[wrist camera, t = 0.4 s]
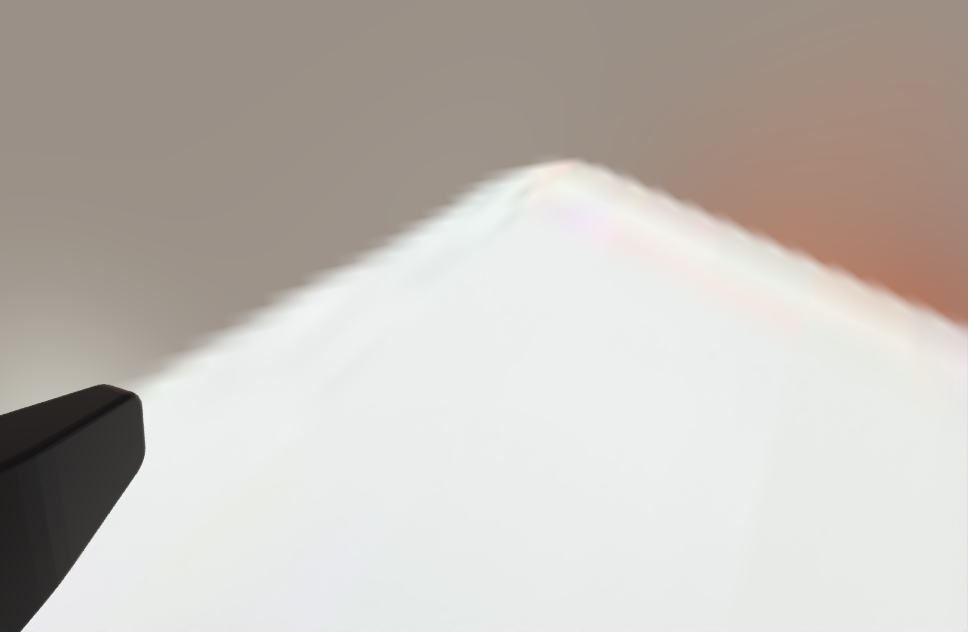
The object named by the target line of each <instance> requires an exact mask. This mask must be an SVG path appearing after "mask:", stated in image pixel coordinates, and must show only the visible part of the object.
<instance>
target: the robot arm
mask: <svg viewBox="0 0 968 632" xmlns="http://www.w3.org/2000/svg"><path fill="white" fill-rule="evenodd" d="M144 456H145V436H144V423H143V410H142V402H141V400H140V398H139V396H138V395H136V394H135V393H133V392H131V391H127V390H124V389H121V388H118V387H114V386H111V385H106V384H101V385H97V386H93V387H90V388H86V389H83V390H80V391H77V392H74V393H70V394H67V395H64V396H61V397H58V398H54V399H51V400H48V401H45V402H41V403H38V404H35V405H32V406H29V407H25V408H22V409H19V410H16V411H13V412H9V413H7V414H3V415H0V632H21V630H22V629H23V628H24V627H25V626H26V625H27V623H28V622H29V621H30V620H31V619H32V617H33V616H34V615H35V614H36V613H37V611H38V610H39V609H40V608H41V607H42V606H43V604H44V603H45V602H46V601H47V599H48V598H49V597H50V596H51V594H52V593H53V592H54V591H55V589H56V588H57V587H58V586H59V584H60V583H61V582H62V580H63V579H64V578H65V576H66V575H67V574H68V572H69V571H70V569H71V568H72V567H73V565H74V564H75V562H76V561H77V559H78V558H79V557H80V555H81V554H82V552H83V551H84V549H85V548H86V546H87V545H88V543H89V542H90V541H91V539H92V538H93V536H94V535H95V533H96V532H97V530H98V529H99V528H100V526H101V525H102V523H103V522H104V520H105V519H106V517H107V516H108V514H109V513H110V512H111V510H112V509H113V507H114V506H115V504H116V503H117V501H118V500H119V498H120V497H121V496H122V494H123V493H124V491H125V490H126V488H127V487H128V485H129V484H130V482H131V481H132V480H133V478H134V477H135V475H136V474H137V472H138V471H139V469H140V467H141V465H142V462H143V459H144Z"/></svg>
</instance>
